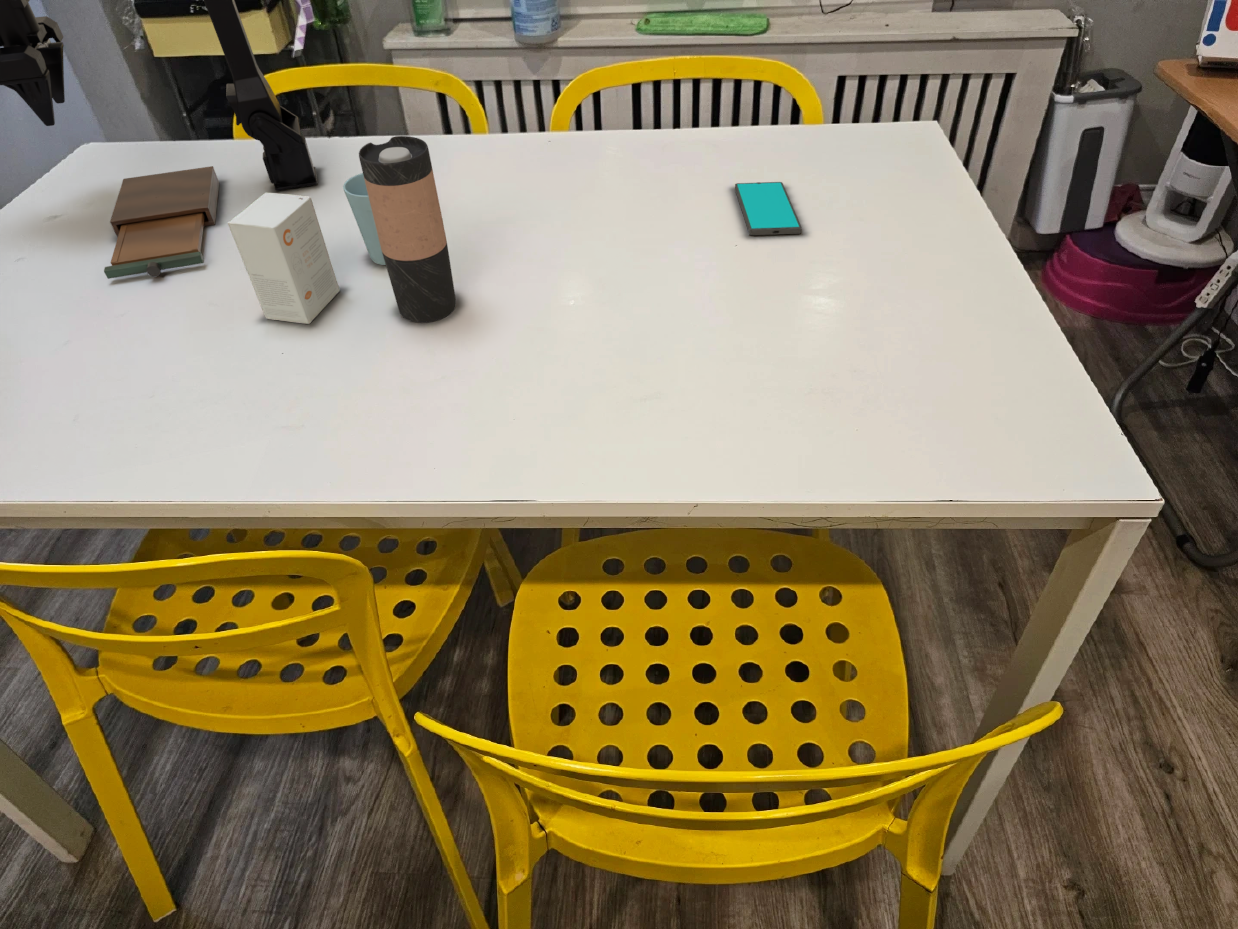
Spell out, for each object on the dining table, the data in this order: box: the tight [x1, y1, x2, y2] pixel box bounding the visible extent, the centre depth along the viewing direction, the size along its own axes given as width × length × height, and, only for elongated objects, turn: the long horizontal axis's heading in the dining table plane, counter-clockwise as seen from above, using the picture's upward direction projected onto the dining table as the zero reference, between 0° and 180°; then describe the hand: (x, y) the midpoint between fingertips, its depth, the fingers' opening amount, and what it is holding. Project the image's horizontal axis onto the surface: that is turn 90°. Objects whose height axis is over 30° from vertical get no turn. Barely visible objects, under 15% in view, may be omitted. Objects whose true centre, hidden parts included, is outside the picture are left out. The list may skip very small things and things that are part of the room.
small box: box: [227, 192, 341, 325], centre depth 96 cm, size 8×6×13 cm
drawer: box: [103, 212, 205, 280], centre depth 110 cm, size 16×12×2 cm
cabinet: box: [109, 165, 220, 238], centre depth 120 cm, size 15×13×3 cm
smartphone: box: [734, 181, 803, 236], centre depth 116 cm, size 7×1×15 cm
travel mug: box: [358, 135, 457, 324], centre depth 93 cm, size 8×8×20 cm
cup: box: [342, 172, 386, 266], centre depth 106 cm, size 8×8×10 cm
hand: (55, 113), depth 111 cm, fingers open, 9 cm apart
